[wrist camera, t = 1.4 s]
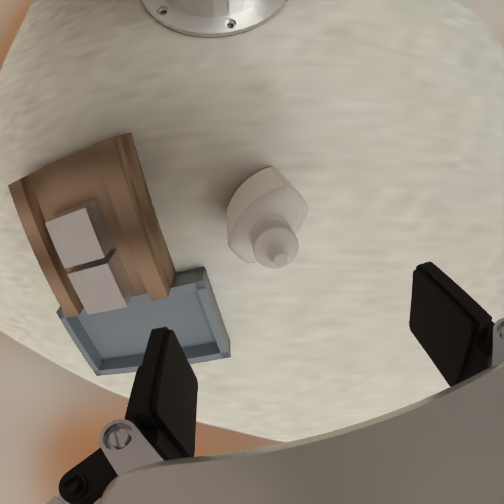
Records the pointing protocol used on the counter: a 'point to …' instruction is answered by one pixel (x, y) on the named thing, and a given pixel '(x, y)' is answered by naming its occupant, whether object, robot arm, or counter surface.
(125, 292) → the chip
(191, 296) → the tray
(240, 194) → the eye dropper bottle
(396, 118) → the counter surface
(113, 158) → the slot block
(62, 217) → the chip
